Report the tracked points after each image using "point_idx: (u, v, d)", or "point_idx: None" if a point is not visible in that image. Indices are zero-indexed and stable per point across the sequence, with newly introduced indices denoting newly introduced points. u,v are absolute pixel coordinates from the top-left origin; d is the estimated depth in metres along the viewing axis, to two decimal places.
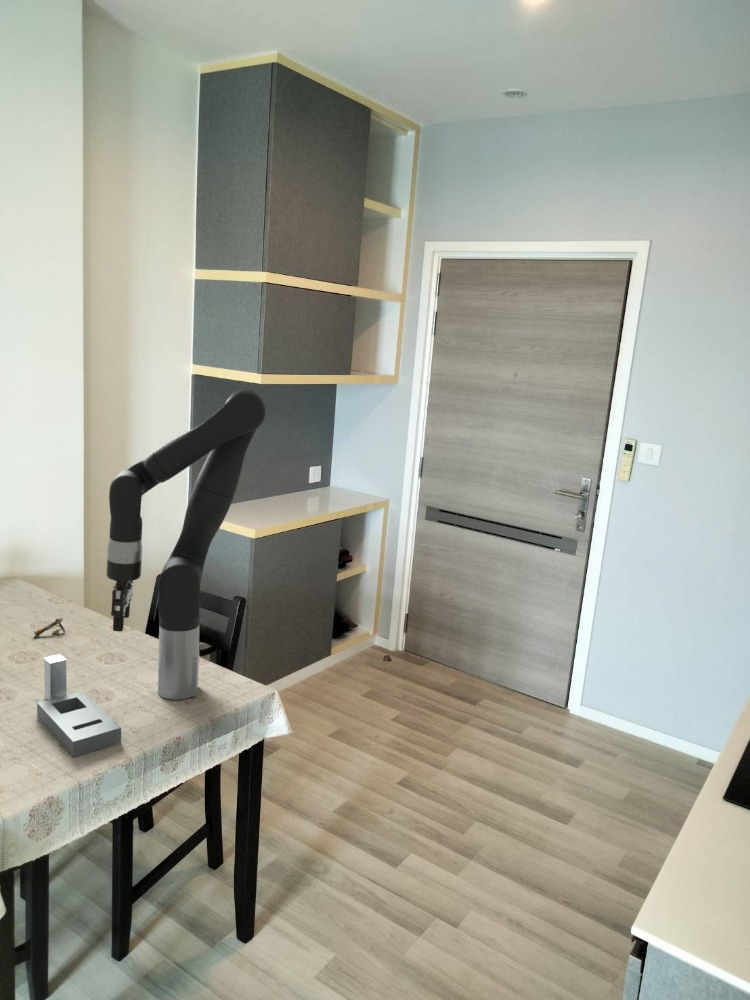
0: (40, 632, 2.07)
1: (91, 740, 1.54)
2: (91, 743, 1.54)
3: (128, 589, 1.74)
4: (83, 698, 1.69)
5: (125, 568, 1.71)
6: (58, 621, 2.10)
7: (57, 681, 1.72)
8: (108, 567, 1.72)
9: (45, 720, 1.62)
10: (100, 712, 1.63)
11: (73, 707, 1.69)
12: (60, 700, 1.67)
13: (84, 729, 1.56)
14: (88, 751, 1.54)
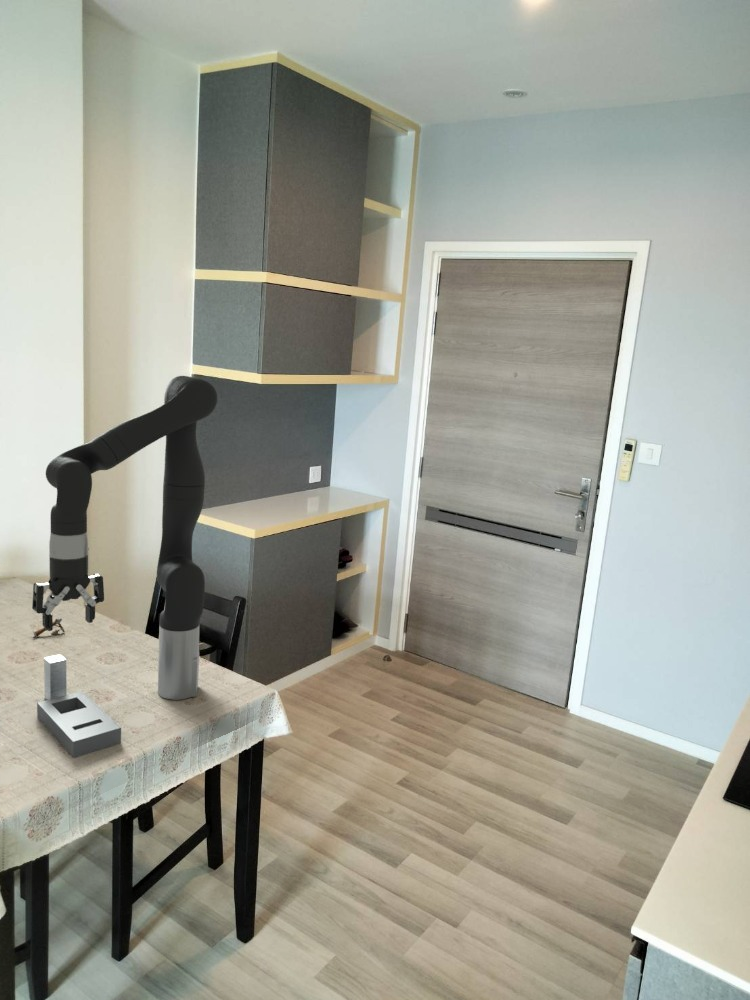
0: (39, 632, 2.07)
1: (91, 740, 1.54)
2: (91, 743, 1.54)
3: None
4: (83, 698, 1.69)
5: None
6: (57, 621, 2.09)
7: (57, 681, 1.72)
8: (85, 564, 1.58)
9: (45, 720, 1.62)
10: (100, 712, 1.63)
11: (73, 707, 1.69)
12: (60, 700, 1.67)
13: (84, 729, 1.56)
14: (88, 751, 1.54)
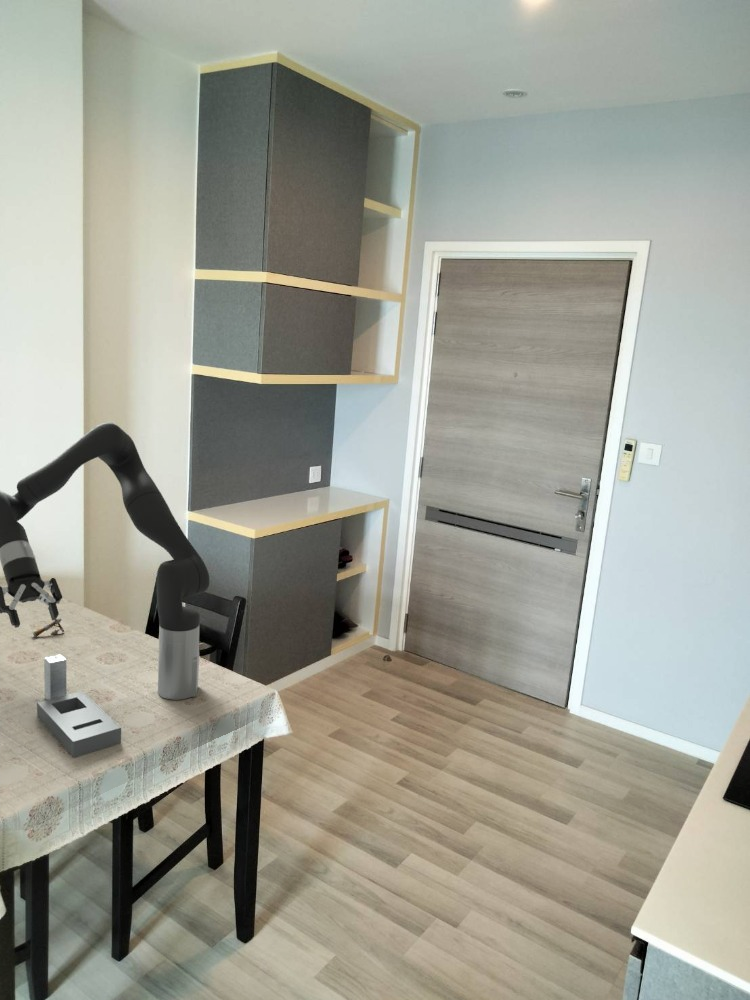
0: (39, 632, 2.07)
1: (91, 740, 1.54)
2: (91, 743, 1.54)
3: None
4: (83, 698, 1.69)
5: None
6: (57, 621, 2.09)
7: (57, 681, 1.72)
8: (33, 563, 1.84)
9: (45, 720, 1.62)
10: (100, 712, 1.63)
11: (73, 707, 1.69)
12: (60, 700, 1.67)
13: (84, 729, 1.56)
14: (88, 751, 1.54)
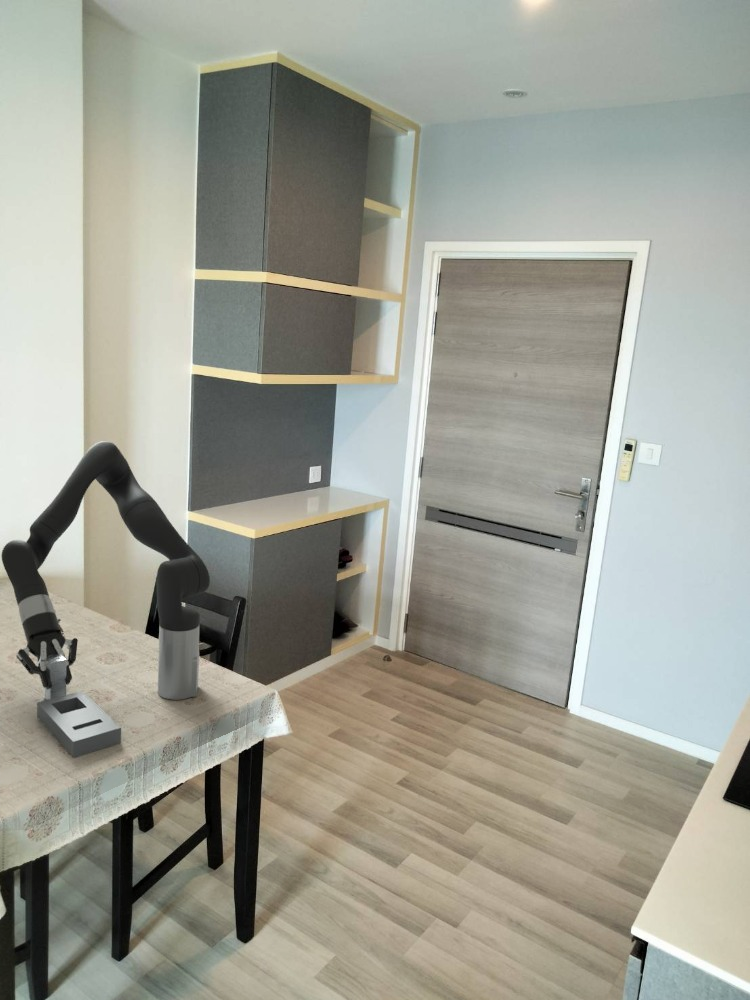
0: None
1: (91, 740, 1.54)
2: (91, 743, 1.54)
3: None
4: (83, 698, 1.69)
5: None
6: None
7: (57, 681, 1.72)
8: (53, 618, 1.77)
9: (45, 720, 1.62)
10: (100, 712, 1.63)
11: (73, 707, 1.69)
12: (60, 700, 1.67)
13: (84, 729, 1.56)
14: (88, 751, 1.54)
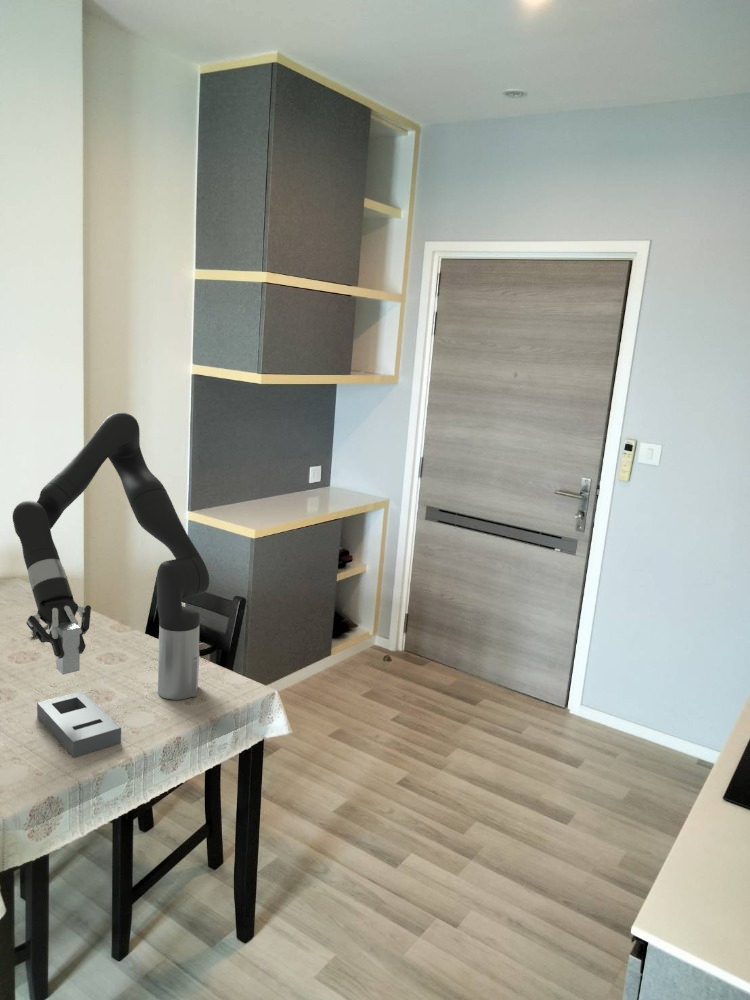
0: None
1: (91, 740, 1.54)
2: (91, 743, 1.54)
3: None
4: (83, 698, 1.69)
5: None
6: None
7: (70, 650, 1.62)
8: (65, 584, 1.67)
9: (45, 720, 1.62)
10: (100, 712, 1.63)
11: (73, 707, 1.69)
12: (60, 700, 1.67)
13: (84, 729, 1.56)
14: (88, 751, 1.54)
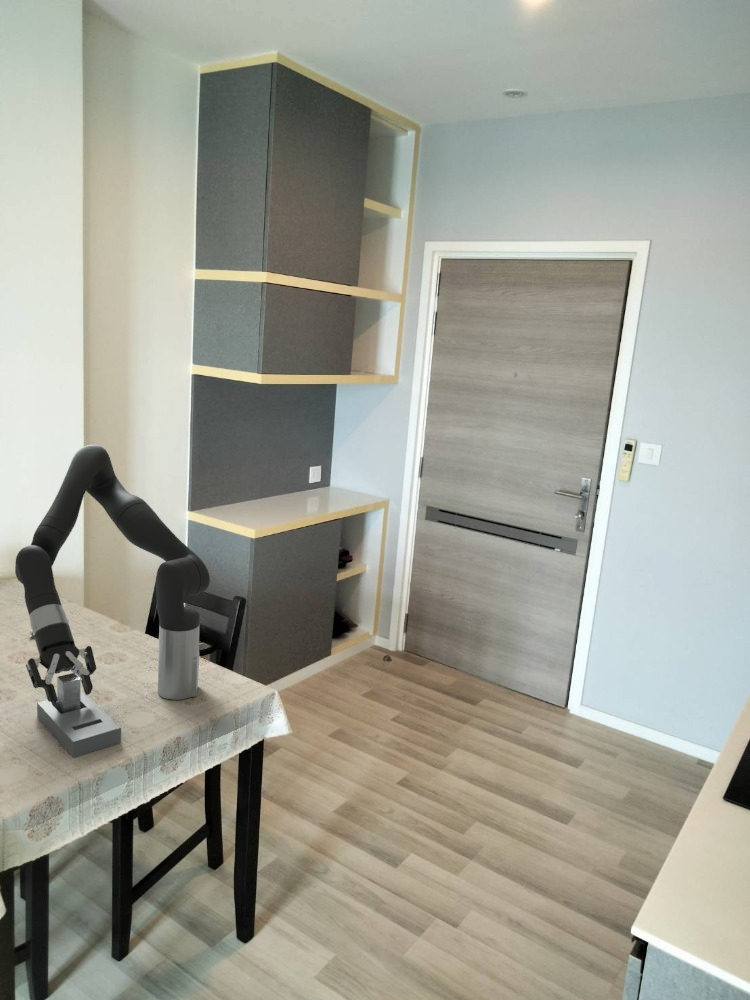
0: None
1: (91, 740, 1.54)
2: (91, 743, 1.54)
3: None
4: (83, 698, 1.69)
5: None
6: None
7: (71, 702, 1.63)
8: (67, 629, 1.68)
9: (45, 720, 1.62)
10: (100, 712, 1.63)
11: None
12: None
13: (84, 729, 1.56)
14: (88, 751, 1.54)
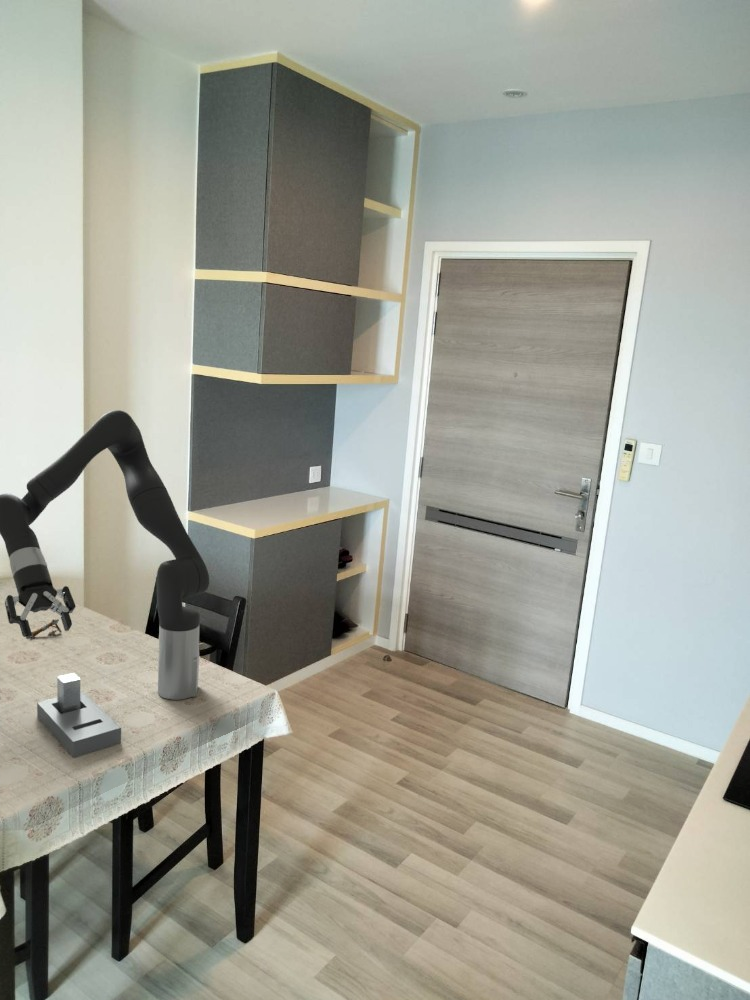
0: (36, 633, 2.07)
1: (91, 740, 1.54)
2: (91, 743, 1.54)
3: None
4: (83, 698, 1.69)
5: None
6: (54, 622, 2.09)
7: (71, 702, 1.63)
8: (45, 570, 1.75)
9: (45, 720, 1.62)
10: (100, 712, 1.63)
11: None
12: None
13: (84, 729, 1.56)
14: (88, 751, 1.54)
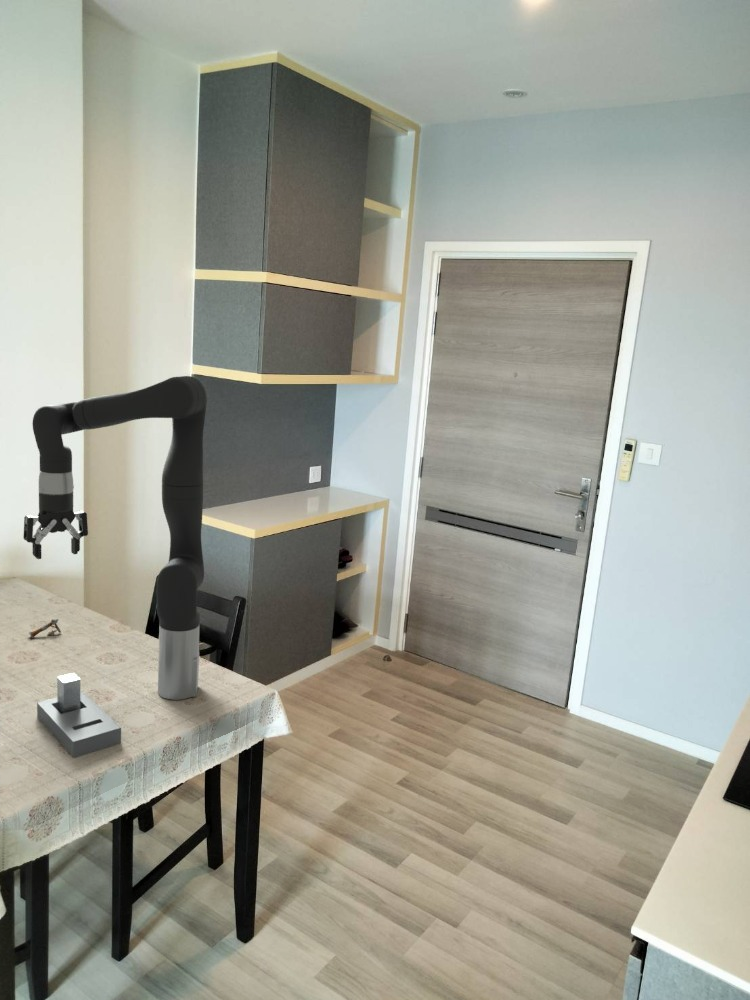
0: (36, 633, 2.06)
1: (91, 740, 1.54)
2: (91, 743, 1.54)
3: None
4: (83, 698, 1.69)
5: None
6: (54, 622, 2.09)
7: (71, 702, 1.63)
8: (70, 500, 1.78)
9: (45, 720, 1.62)
10: (100, 712, 1.63)
11: None
12: None
13: (84, 729, 1.56)
14: (88, 751, 1.54)
